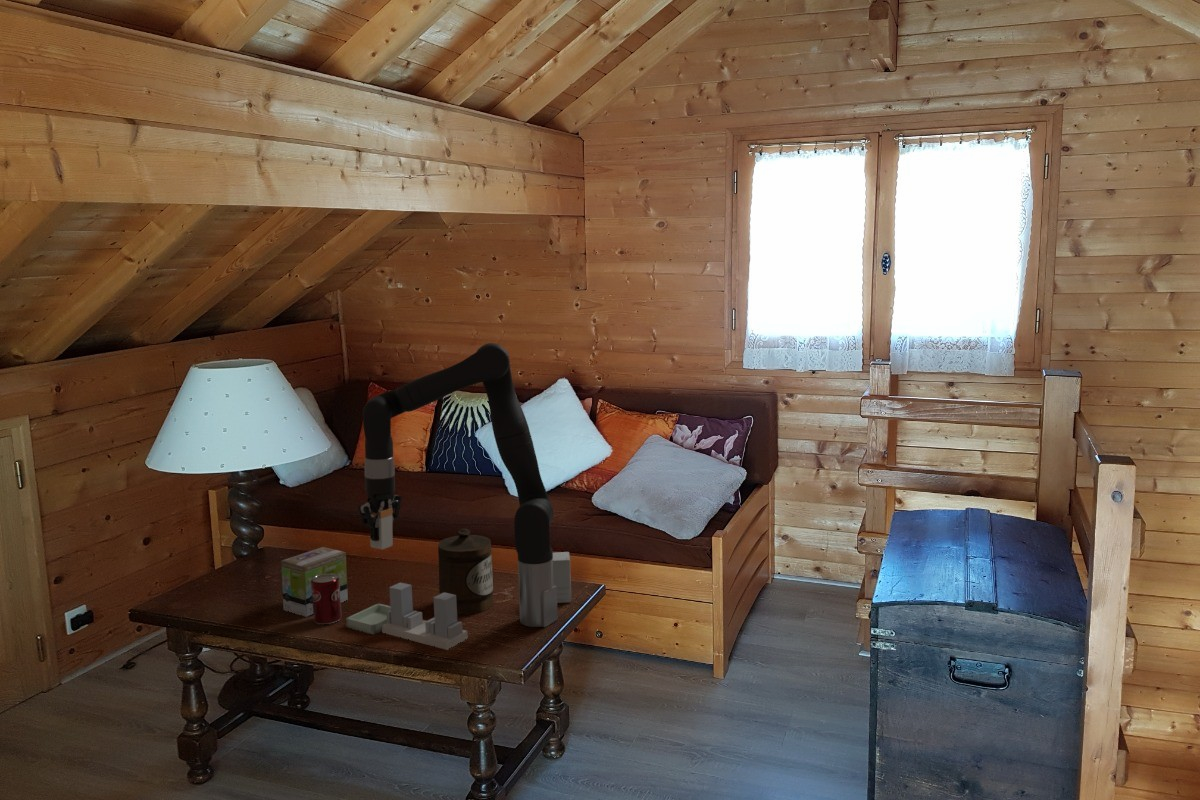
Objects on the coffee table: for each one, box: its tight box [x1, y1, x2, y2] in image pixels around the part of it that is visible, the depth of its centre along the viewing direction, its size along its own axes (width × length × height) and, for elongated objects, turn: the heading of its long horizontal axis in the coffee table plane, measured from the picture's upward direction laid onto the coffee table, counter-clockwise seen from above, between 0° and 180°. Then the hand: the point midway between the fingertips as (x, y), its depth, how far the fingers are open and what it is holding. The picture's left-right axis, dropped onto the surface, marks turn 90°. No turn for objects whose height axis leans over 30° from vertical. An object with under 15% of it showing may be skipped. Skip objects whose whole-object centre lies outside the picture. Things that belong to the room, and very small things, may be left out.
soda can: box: [311, 574, 343, 625], centre depth 251 cm, size 7×7×12 cm
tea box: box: [280, 546, 349, 618], centre depth 261 cm, size 15×10×15 cm
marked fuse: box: [369, 508, 394, 551], centre depth 242 cm, size 4×4×10 cm
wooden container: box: [437, 528, 494, 615], centre depth 259 cm, size 15×15×22 cm
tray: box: [345, 603, 391, 635], centre depth 249 cm, size 10×12×2 cm
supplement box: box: [553, 551, 572, 604], centre depth 263 cm, size 7×7×13 cm
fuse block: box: [381, 582, 469, 651], centre depth 239 cm, size 22×8×12 cm, turn 59°
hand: (381, 537), depth 243 cm, fingers closed on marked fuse, 4 cm apart
